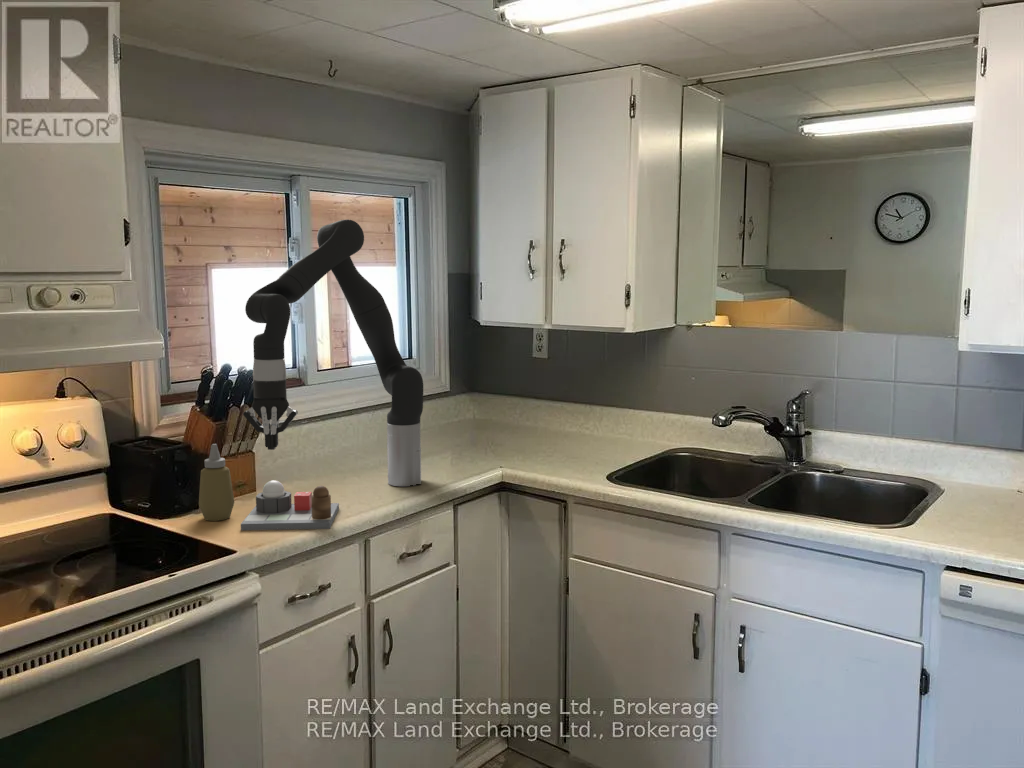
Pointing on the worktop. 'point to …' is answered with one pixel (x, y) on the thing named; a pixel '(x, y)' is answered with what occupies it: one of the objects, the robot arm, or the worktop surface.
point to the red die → (302, 501)
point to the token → (321, 503)
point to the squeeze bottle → (215, 488)
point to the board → (284, 515)
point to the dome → (273, 489)
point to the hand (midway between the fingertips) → (271, 449)
